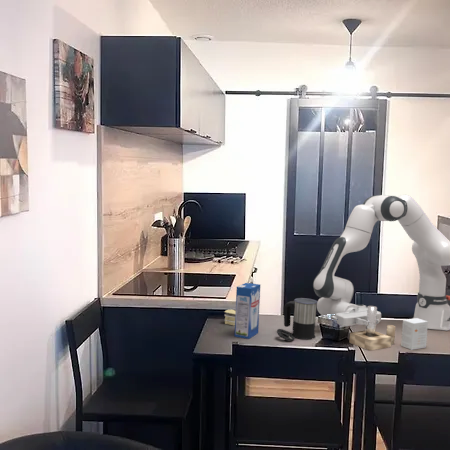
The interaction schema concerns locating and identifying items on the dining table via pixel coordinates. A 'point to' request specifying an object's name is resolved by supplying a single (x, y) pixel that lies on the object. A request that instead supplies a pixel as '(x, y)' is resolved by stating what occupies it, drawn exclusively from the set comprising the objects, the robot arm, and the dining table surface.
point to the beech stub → (391, 333)
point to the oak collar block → (370, 340)
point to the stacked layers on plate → (230, 317)
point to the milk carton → (247, 310)
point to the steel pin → (371, 321)
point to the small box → (414, 333)
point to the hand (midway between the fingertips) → (372, 322)
